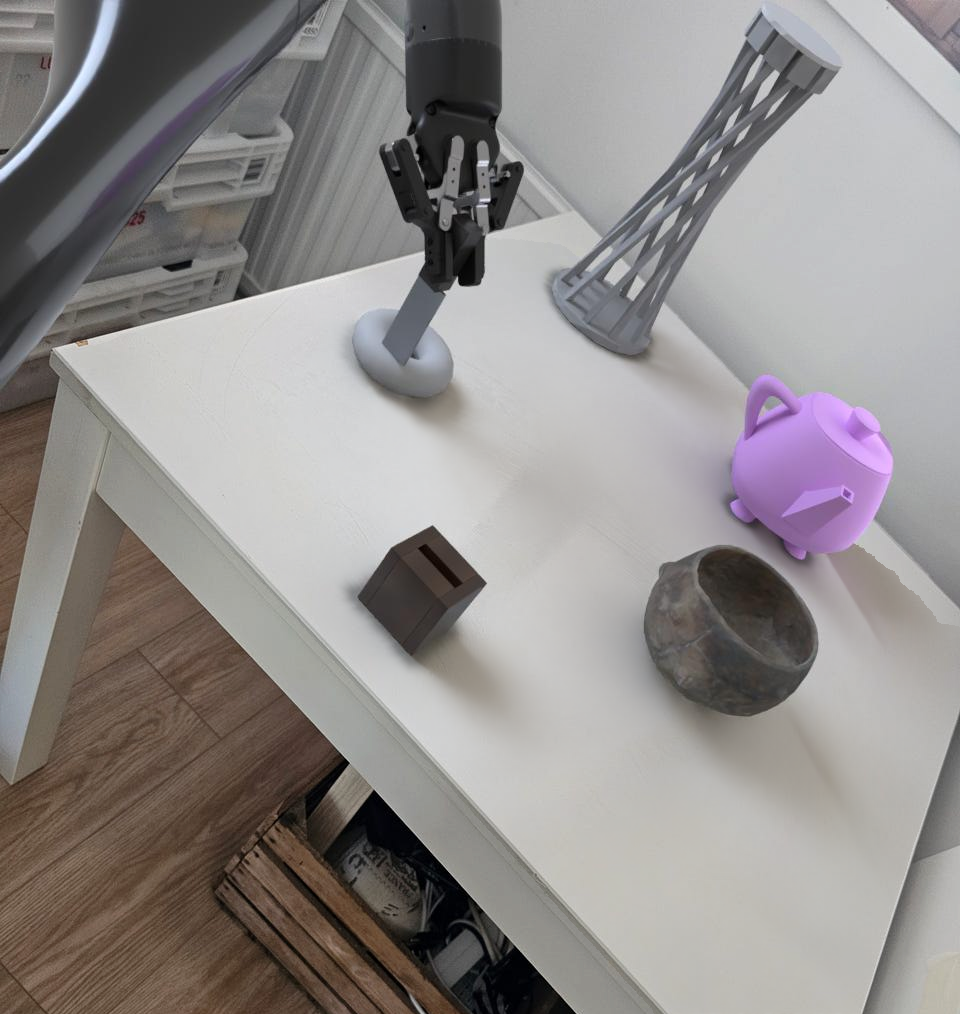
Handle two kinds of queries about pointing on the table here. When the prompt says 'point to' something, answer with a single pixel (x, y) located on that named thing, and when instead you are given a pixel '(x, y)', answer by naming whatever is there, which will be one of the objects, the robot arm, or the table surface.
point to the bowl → (729, 631)
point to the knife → (429, 293)
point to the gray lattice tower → (697, 180)
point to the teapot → (809, 468)
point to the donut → (416, 378)
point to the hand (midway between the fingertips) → (455, 283)
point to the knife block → (421, 589)
